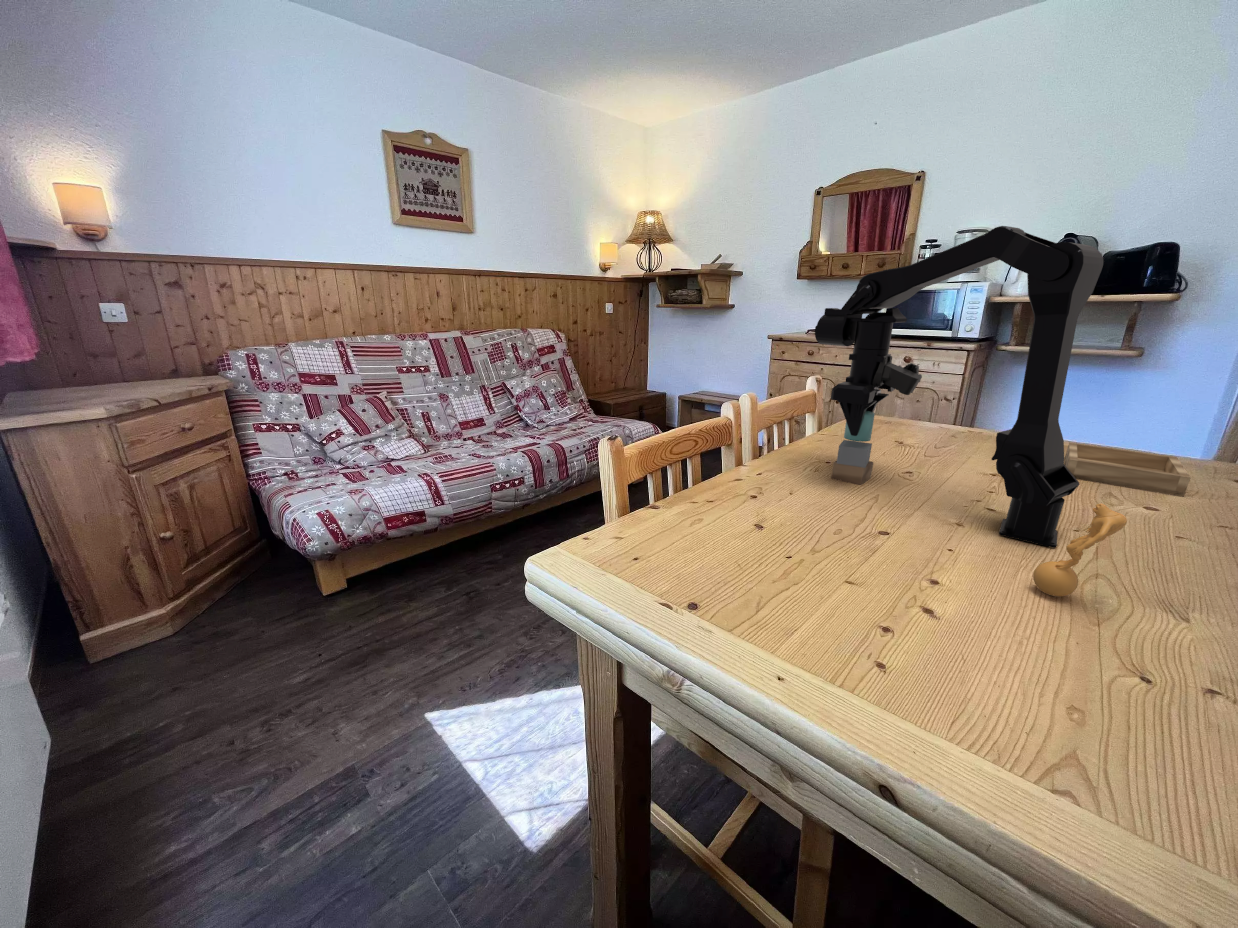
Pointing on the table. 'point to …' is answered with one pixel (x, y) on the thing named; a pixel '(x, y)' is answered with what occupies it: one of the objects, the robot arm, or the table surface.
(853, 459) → the block upper
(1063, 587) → the figurine
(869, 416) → the teal cylinder
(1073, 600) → the table surface
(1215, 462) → the table surface
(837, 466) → the block lower
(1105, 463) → the tray
